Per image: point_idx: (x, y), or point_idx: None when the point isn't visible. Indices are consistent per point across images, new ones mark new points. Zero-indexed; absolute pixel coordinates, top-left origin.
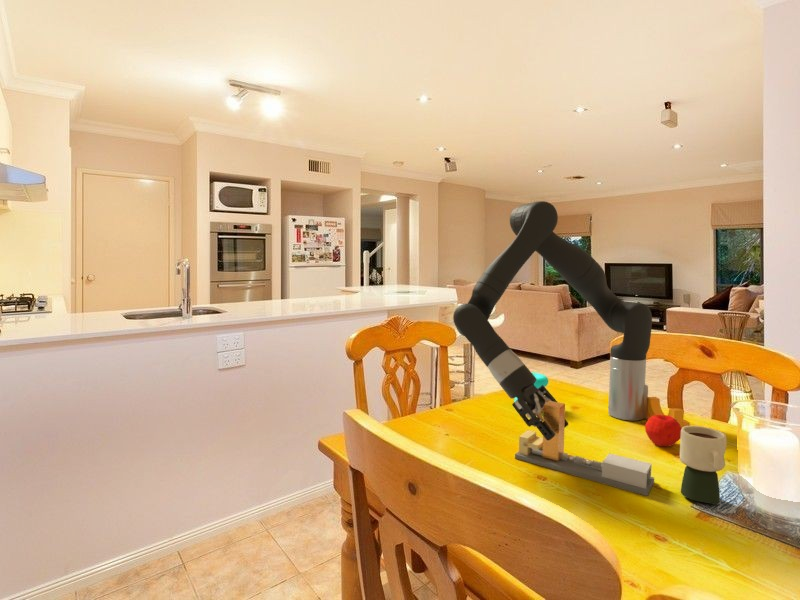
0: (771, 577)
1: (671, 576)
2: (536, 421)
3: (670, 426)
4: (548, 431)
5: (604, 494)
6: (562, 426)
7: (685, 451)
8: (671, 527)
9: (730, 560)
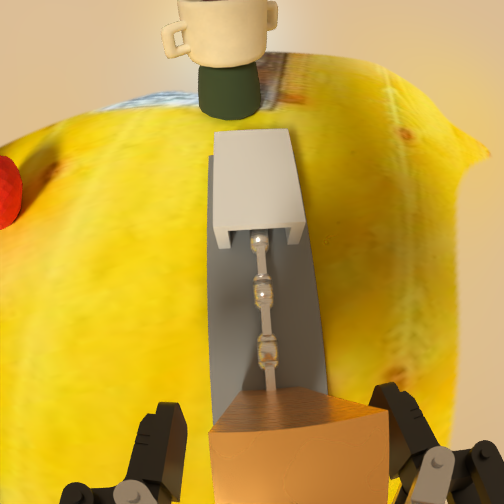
0: (369, 68)
1: (453, 127)
2: (478, 445)
3: (2, 160)
4: (410, 406)
5: (357, 224)
6: (266, 402)
7: (256, 34)
8: (367, 124)
9: (375, 85)
